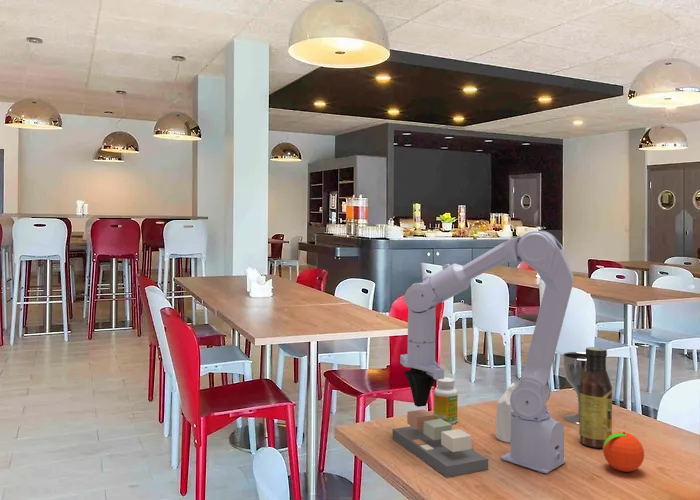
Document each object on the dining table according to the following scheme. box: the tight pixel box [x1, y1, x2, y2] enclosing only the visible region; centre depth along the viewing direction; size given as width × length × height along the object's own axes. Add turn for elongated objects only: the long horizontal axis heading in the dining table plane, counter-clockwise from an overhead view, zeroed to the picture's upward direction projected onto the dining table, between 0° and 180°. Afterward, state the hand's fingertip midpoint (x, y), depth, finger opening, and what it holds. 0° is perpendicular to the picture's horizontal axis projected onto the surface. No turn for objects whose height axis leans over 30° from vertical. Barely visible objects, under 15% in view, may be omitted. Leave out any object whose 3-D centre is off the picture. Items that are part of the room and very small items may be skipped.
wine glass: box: [562, 351, 587, 425], centre depth 138 cm, size 8×8×15 cm
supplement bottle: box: [433, 376, 459, 425], centre depth 136 cm, size 5×5×10 cm
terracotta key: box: [406, 409, 434, 429], centre depth 122 cm, size 4×4×2 cm
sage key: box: [423, 419, 453, 440], centre depth 116 cm, size 4×4×2 cm
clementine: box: [602, 431, 645, 473], centre depth 109 cm, size 8×7×7 cm
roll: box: [495, 382, 517, 444], centre depth 125 cm, size 6×12×6 cm
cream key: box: [441, 428, 472, 452], centre depth 110 cm, size 4×4×2 cm
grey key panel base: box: [391, 425, 489, 478], centre depth 117 cm, size 21×9×2 cm, turn 23°
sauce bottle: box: [578, 346, 613, 449], centre depth 122 cm, size 7×6×20 cm
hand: (420, 405), depth 122 cm, fingers closed
